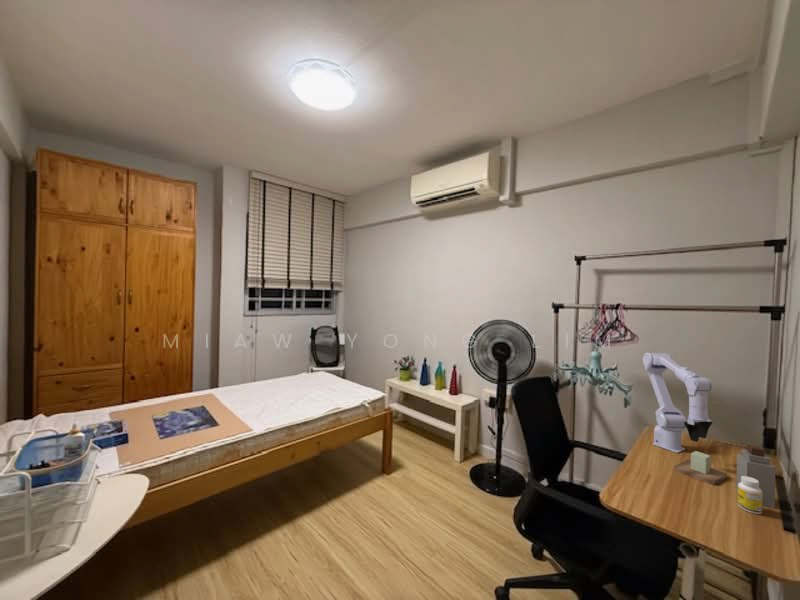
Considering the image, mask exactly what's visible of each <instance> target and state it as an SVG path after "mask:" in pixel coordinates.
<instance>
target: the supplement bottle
mask: <svg viewBox="0 0 800 600" xmlns="http://www.w3.org/2000/svg"><path fill="white" fill-rule="evenodd" d="M737 505H738V507H739V508H740V509H742V510H744V511H746V512H748V513H751V514H754V515H761V514H763V506H762V490H761V489H760V488H759V481H758V480H756V479H754V478H751V477H747V476H741V482H740V483H739V484H738V493H737Z"/></svg>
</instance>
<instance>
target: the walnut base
mask: <svg viewBox="0 0 800 600" xmlns="http://www.w3.org/2000/svg"><path fill="white" fill-rule="evenodd" d="M673 469H674V471H676V472H678V473H682V474H683V475H686V476H689V477H691V478H694V479H697V480H700V481H702V482H705V483H707V484H710V485H712V486H717V484H719V483H720V482H722V481H723V480H726V479H727V477H728V473H726V472H724V471H723V470H722V471H721V470H718V469H715V468H713V467H711V470H710V472H708V473H706V474H704V473H702V472H699V471H696V470H693V469H691V459H686V460H683V461H682V462H680V463H678V464H675V466H674V468H673Z"/></svg>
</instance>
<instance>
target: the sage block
mask: <svg viewBox="0 0 800 600" xmlns="http://www.w3.org/2000/svg"><path fill="white" fill-rule="evenodd" d="M711 458H712V456H711V455H709V454H707V453H703V452H700V451H697V450H695V451H693V452H690V461H691V469H693V470H696V471H699V472H702V473H704V474H706V473H708V472H710V470H711V468H712V467H711V466H712V465H711V460H712V459H711Z"/></svg>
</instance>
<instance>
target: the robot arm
mask: <svg viewBox="0 0 800 600" xmlns="http://www.w3.org/2000/svg"><path fill="white" fill-rule="evenodd" d="M642 363H643V365H644V369H645V371H646V372H647V373H648V377H649V379H650V383H651V385H652V388H653V391H654V395H655V397H656V400H657V402H658V406H659V407H658V409H657V410H656V411H655V418H656V419H655V420H656V423H657V424H656V425H655V427H654V429H653V445H654V446H656V447H659V448H662V449H665V450H667V451H671V452H673V453H677V454H679V453H680V452H682V451H685V450H686V448H685V447H684V446H683V447H682V433H683V432H684V429H686V430H687V432H688V436H689V439H690V441H692V442H695V443H698V442H699V439H700V438H702V439H706V438H707V435H708V432H709V429H710V427H711V426H712V425H713V421H712V419H711V418H709V415H708V412H709V411H708V406H709V405H708V404H709V403H708V400H709V399H708V398H709V395H708V392H710V391H712V388H713V384H712V381H711V380H710V379H709V377H704V376H699V375H698V374H697V373H695V372H694V371H692V370H691V369H690V368H689V367H688V366H687V367H686V366H681V365H679V364H678V363H677V362H676V360H675V361H674V359H673V357H672V355H670V354H668V353H667V352H663V353H662V352H661V353H660V352H645V353H644V354H643V357H642ZM667 369H669V370H670V371H672V372H673V373H674V376H675V377H676V378H677V379H678V380H680V381H681V382H683V383H684V385H685V388H686V390H687V391H686V393H687V394H688V408H689V409H688V418H687V419H686V417H685V416H684V414H683V413H682V411H681V410H680V409H679V408H677V407H675V406H674V403H673V401H672V398H671V394H670V393H669V390H668V388H667V387H668V386H667V384H666V381H665V379H664V377H663V376H664V375H663V373H665V372H666V371H667Z"/></svg>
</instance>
